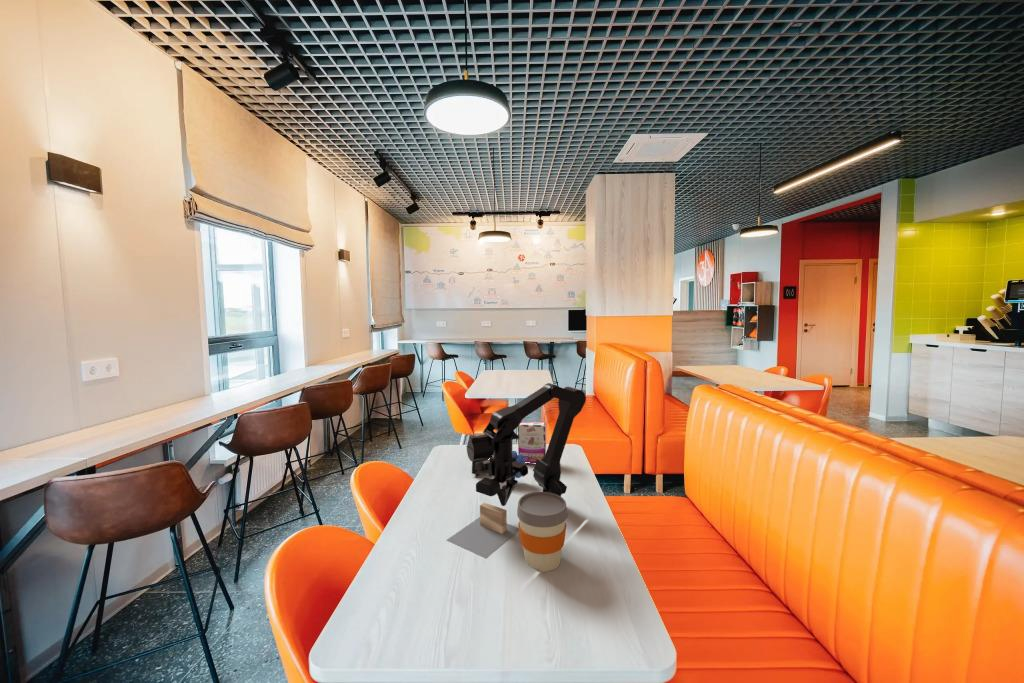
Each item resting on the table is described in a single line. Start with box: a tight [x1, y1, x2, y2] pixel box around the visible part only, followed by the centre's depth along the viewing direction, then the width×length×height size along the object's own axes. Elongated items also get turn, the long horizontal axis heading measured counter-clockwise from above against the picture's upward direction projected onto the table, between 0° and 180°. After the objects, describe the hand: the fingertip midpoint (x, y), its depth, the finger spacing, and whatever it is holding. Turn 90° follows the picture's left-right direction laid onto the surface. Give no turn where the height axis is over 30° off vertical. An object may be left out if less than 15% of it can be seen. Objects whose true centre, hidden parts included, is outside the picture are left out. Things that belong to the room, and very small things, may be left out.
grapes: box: [512, 450, 527, 480], centre depth 143 cm, size 12×7×12 cm, turn 96°
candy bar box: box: [517, 421, 547, 463], centre depth 161 cm, size 11×5×16 cm, turn 80°
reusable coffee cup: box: [516, 491, 568, 572], centre depth 99 cm, size 13×13×15 cm
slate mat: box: [446, 516, 519, 559], centre depth 110 cm, size 16×14×1 cm
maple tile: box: [479, 502, 508, 534], centre depth 113 cm, size 2×8×6 cm, turn 55°
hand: (503, 505), depth 117 cm, fingers closed
